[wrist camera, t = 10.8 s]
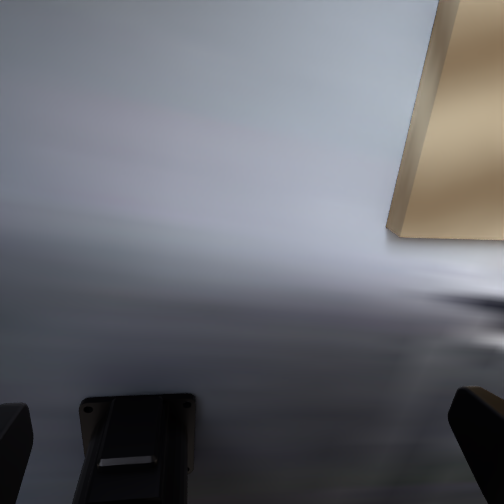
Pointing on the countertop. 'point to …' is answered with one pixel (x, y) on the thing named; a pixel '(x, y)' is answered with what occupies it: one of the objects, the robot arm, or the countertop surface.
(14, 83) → the countertop surface
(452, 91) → the post board
